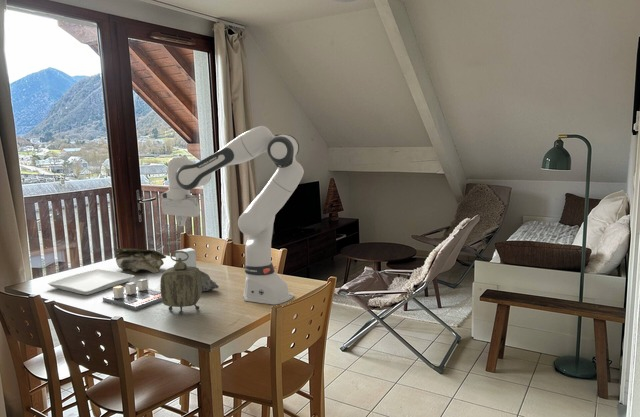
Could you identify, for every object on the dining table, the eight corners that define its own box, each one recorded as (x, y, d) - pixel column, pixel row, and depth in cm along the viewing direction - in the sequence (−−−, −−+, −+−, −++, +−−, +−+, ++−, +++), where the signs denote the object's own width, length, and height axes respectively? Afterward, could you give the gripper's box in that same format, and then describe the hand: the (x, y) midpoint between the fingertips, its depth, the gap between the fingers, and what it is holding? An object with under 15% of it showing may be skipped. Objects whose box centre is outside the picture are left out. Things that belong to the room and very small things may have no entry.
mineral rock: (220, 291, 218) (219, 269, 216) (200, 297, 209) (199, 275, 208) (202, 286, 226) (201, 265, 224) (183, 291, 218) (181, 270, 216)
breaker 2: (148, 288, 215) (147, 279, 214) (142, 290, 212) (141, 281, 212) (143, 287, 216) (143, 278, 216) (138, 289, 214) (137, 280, 213)
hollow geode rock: (117, 277, 258) (100, 262, 247) (126, 257, 266) (111, 241, 254) (162, 279, 250) (147, 264, 239) (171, 258, 257) (157, 243, 246)
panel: (171, 298, 209) (171, 293, 209) (135, 310, 194) (135, 306, 194) (139, 289, 221) (138, 285, 220) (103, 301, 206) (102, 296, 206)
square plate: (47, 290, 223) (46, 282, 222) (98, 275, 247) (97, 268, 246) (86, 299, 210) (85, 290, 210) (136, 282, 234) (135, 274, 234)
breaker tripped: (124, 296, 205) (123, 286, 204) (117, 298, 202) (117, 288, 202) (119, 295, 206) (119, 285, 206) (113, 297, 204) (112, 287, 203)
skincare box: (192, 276, 242) (190, 247, 239) (197, 279, 237) (196, 249, 235) (176, 279, 236) (174, 250, 234) (181, 282, 232) (179, 252, 230)
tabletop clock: (203, 308, 196) (200, 248, 192) (198, 316, 187) (195, 253, 183) (167, 309, 195) (163, 248, 192) (160, 317, 186) (156, 254, 183)
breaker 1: (136, 292, 210) (135, 283, 209) (130, 294, 207) (129, 284, 207) (132, 291, 211) (131, 281, 211) (126, 293, 209) (125, 283, 208)
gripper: (202, 194, 206) (204, 226, 208) (169, 192, 217) (172, 222, 219) (190, 196, 201) (192, 228, 203) (158, 194, 212) (160, 225, 214)
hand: (181, 225), depth 211 cm, fingers closed
